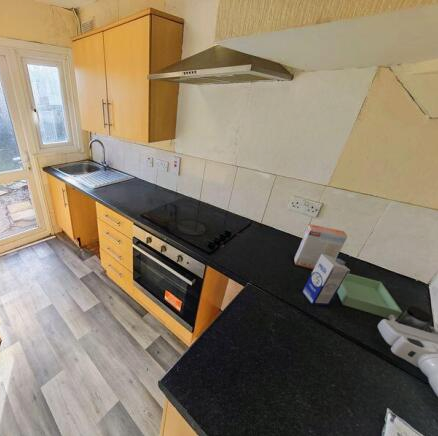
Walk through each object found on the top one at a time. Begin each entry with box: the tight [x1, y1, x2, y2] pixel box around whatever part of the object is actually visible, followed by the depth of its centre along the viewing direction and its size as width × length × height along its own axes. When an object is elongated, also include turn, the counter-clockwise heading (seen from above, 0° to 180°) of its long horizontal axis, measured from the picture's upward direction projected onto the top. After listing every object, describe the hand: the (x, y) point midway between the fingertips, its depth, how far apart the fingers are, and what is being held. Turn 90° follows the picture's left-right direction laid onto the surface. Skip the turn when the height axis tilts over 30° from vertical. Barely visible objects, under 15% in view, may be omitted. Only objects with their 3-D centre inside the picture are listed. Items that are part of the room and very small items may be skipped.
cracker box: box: [293, 223, 348, 271], centre depth 107 cm, size 14×6×21 cm, turn 65°
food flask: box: [397, 305, 433, 330], centre depth 76 cm, size 5×5×12 cm
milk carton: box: [302, 254, 351, 306], centre depth 88 cm, size 7×7×20 cm
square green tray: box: [337, 273, 403, 319], centre depth 94 cm, size 17×18×4 cm
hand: (409, 321), depth 76 cm, fingers open, 8 cm apart
